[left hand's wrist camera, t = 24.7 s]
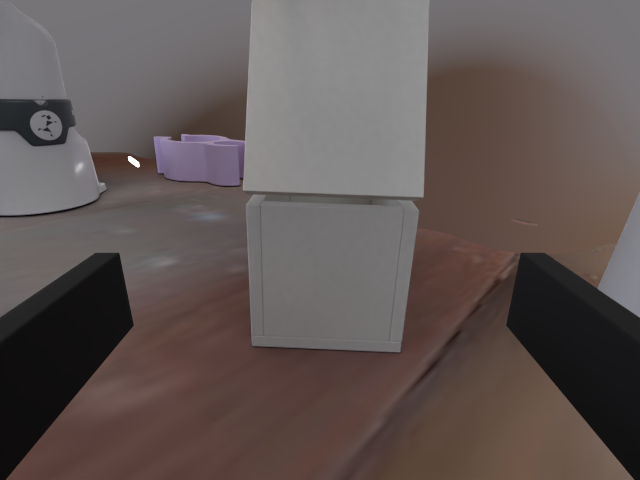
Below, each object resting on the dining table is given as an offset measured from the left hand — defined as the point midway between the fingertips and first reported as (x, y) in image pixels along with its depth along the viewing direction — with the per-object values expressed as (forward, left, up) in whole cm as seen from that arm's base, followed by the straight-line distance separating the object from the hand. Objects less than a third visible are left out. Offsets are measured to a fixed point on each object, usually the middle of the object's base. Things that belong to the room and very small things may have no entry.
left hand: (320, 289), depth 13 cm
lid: (+11, -8, +8) cm, 16 cm away
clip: (+64, -16, -10) cm, 67 cm away
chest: (+15, -11, -10) cm, 21 cm away
